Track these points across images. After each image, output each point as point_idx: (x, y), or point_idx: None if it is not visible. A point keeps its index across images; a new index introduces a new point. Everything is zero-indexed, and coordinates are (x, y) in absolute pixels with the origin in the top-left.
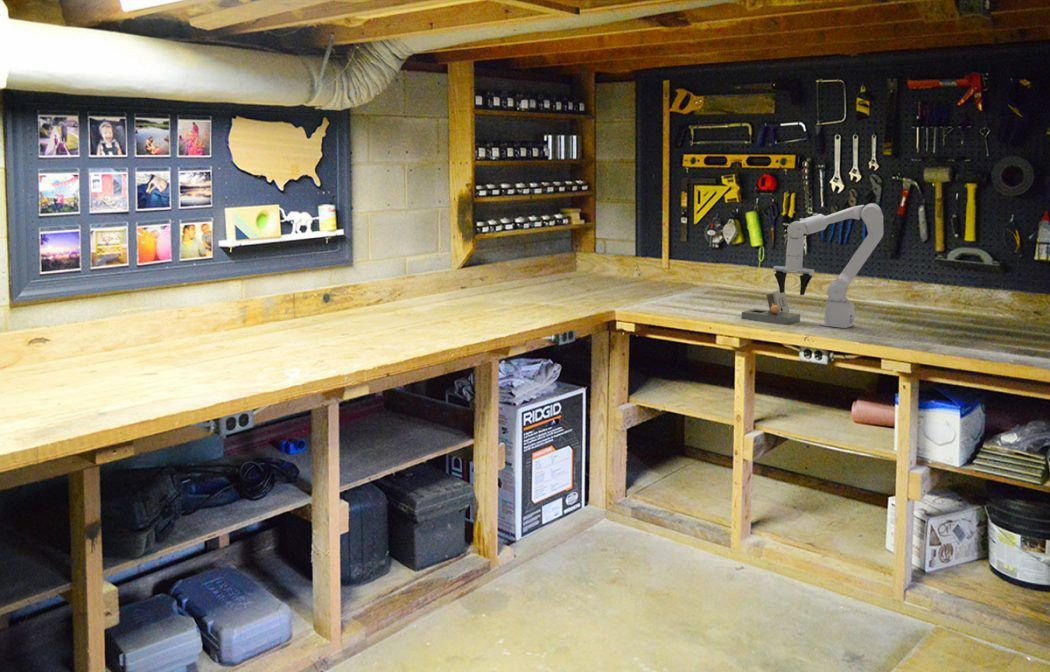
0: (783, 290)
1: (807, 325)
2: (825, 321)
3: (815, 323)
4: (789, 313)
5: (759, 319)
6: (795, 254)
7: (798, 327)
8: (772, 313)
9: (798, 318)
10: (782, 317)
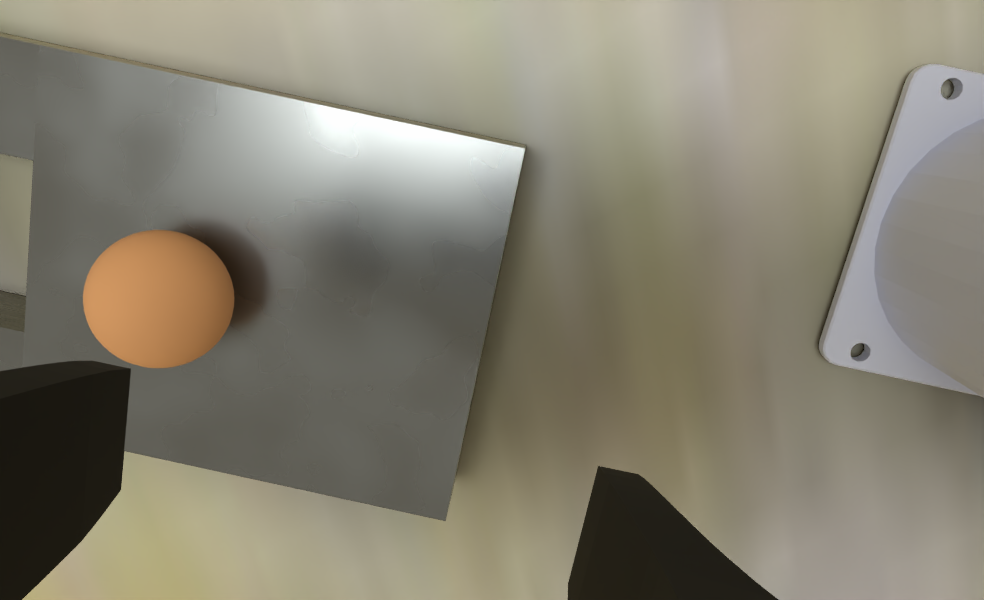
0: (99, 420)
1: (672, 410)
2: (907, 335)
3: (744, 220)
4: (367, 169)
5: None
6: None
7: None
8: None
9: (514, 199)
10: (368, 499)
